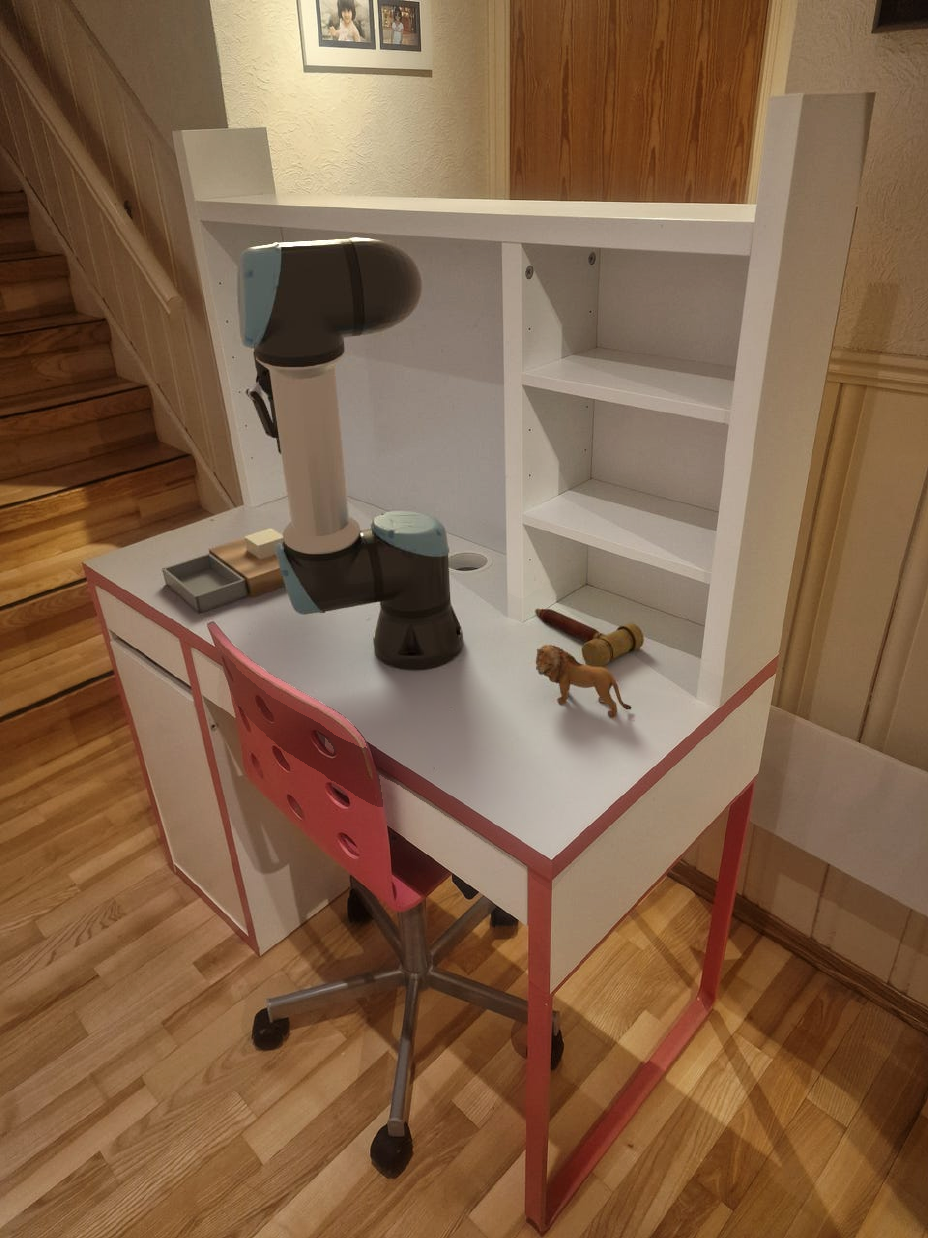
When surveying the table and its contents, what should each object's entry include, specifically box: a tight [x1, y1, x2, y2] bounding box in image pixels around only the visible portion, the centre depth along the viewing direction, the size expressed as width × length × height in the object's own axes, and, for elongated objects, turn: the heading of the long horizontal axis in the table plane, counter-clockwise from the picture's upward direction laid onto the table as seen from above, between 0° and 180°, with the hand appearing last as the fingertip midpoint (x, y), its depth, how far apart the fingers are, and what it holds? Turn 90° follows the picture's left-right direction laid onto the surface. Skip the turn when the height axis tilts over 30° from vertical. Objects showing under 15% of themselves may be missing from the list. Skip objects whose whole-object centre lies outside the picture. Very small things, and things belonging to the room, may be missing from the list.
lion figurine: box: [535, 644, 632, 718], centre depth 126 cm, size 15×5×9 cm, turn 70°
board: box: [208, 537, 286, 598], centre depth 170 cm, size 18×13×4 cm
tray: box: [161, 552, 249, 614], centre depth 164 cm, size 16×10×4 cm, turn 39°
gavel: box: [534, 608, 645, 668], centre depth 144 cm, size 21×5×10 cm
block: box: [243, 527, 284, 560], centre depth 169 cm, size 6×6×3 cm
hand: (291, 468), depth 167 cm, fingers closed
